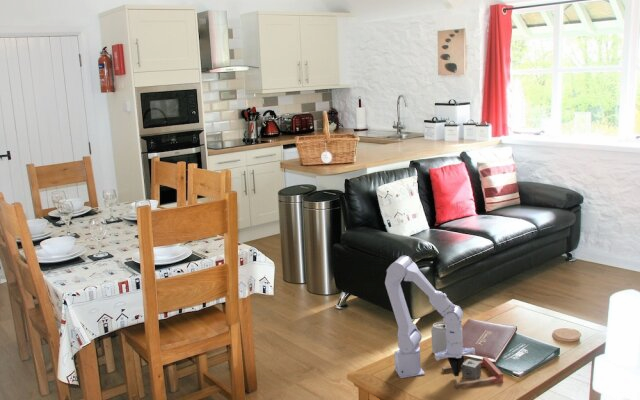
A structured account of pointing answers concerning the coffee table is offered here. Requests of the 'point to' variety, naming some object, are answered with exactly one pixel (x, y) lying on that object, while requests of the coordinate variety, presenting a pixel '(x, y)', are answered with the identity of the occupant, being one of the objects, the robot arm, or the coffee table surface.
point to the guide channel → (491, 368)
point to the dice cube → (471, 369)
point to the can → (439, 337)
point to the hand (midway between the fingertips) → (455, 375)
